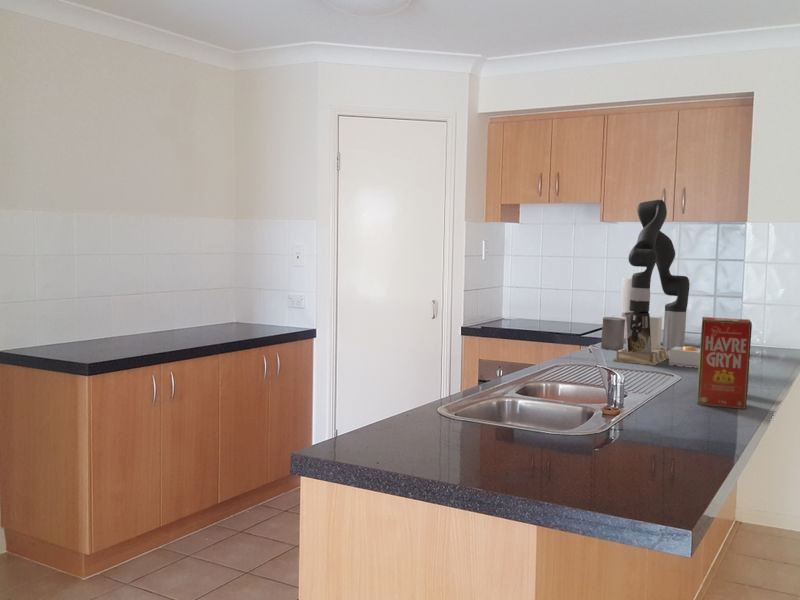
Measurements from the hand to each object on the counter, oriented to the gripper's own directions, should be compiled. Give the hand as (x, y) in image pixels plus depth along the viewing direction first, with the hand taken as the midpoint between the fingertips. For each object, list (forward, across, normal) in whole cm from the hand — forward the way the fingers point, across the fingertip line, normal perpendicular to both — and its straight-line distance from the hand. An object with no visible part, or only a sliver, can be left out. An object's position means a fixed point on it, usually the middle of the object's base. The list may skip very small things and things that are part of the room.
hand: (637, 340), depth 299 cm
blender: (+8, -63, -18) cm, 66 cm away
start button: (+6, -6, +19) cm, 21 cm away
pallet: (+8, -8, +1) cm, 11 cm away
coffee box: (+5, -1, +1) cm, 5 cm away
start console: (+8, -6, +19) cm, 21 cm away
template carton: (+8, -16, +1) cm, 18 cm away
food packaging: (+9, +68, +42) cm, 80 cm away
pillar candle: (+8, -32, -18) cm, 38 cm away
